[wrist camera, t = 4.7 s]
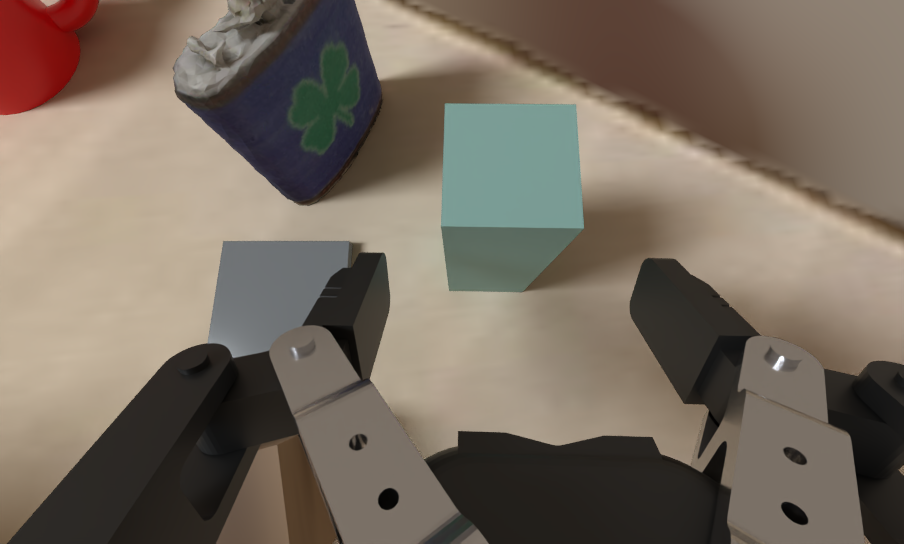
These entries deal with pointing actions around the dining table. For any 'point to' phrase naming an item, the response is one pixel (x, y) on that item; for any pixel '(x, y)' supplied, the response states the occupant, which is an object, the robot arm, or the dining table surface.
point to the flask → (285, 89)
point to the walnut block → (279, 500)
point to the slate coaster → (270, 289)
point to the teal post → (508, 192)
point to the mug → (38, 49)
